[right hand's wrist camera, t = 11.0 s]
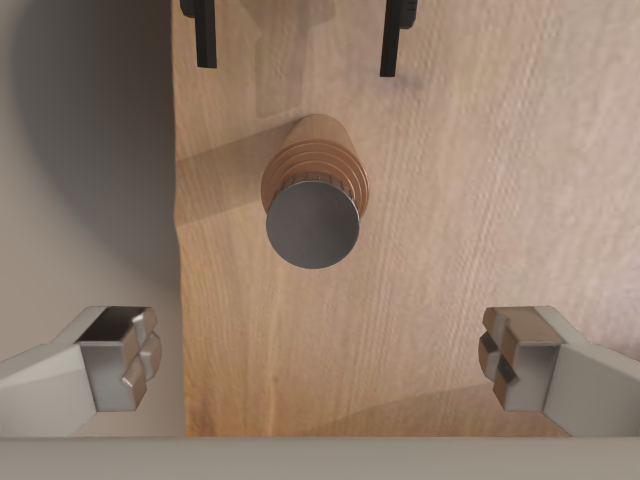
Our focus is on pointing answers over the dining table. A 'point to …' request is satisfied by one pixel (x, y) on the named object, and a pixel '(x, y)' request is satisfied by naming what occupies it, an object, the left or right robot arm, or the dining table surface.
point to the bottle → (317, 158)
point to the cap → (313, 220)
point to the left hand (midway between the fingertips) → (297, 72)
